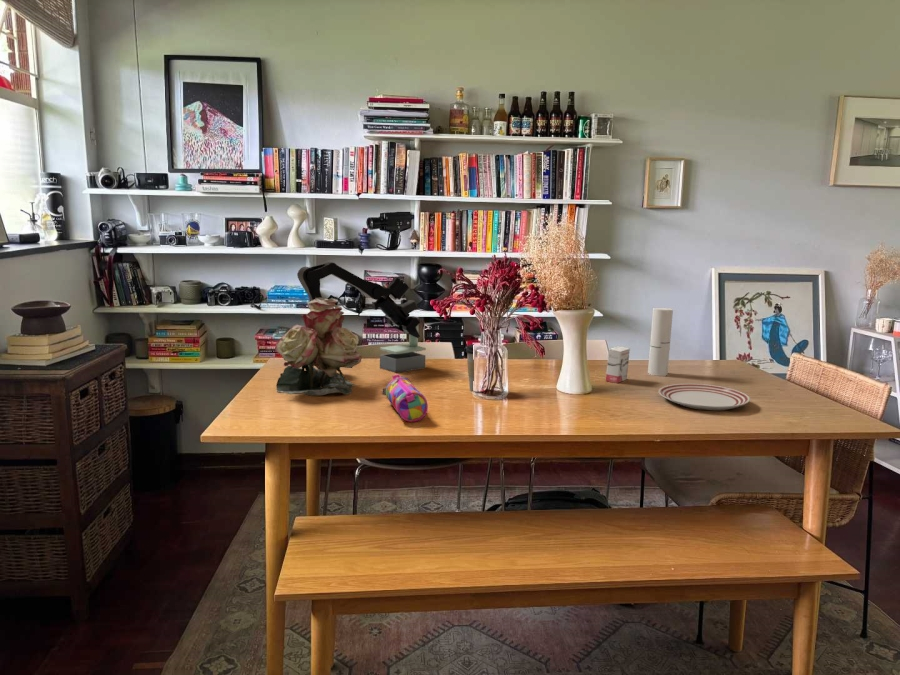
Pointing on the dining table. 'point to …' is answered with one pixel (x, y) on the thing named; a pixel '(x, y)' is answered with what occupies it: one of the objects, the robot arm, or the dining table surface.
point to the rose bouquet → (318, 352)
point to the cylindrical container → (660, 341)
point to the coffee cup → (470, 365)
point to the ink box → (617, 364)
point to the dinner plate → (704, 396)
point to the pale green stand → (405, 346)
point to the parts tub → (402, 362)
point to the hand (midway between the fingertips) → (416, 336)
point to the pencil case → (406, 399)
